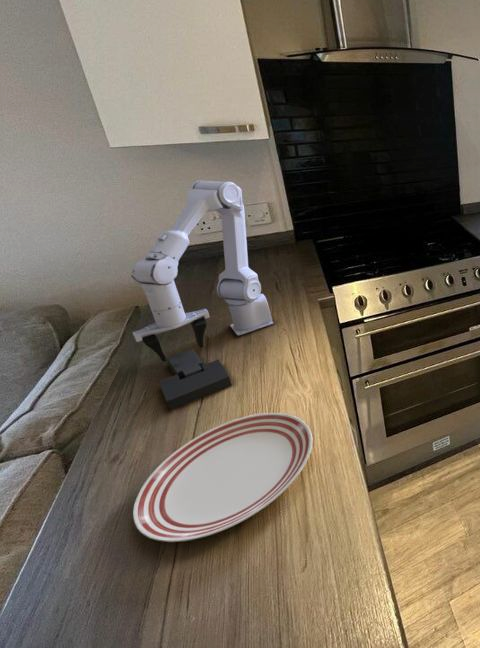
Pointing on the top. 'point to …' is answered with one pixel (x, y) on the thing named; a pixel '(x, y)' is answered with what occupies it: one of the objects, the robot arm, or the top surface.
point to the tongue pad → (185, 364)
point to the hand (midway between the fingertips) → (182, 352)
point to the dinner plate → (222, 477)
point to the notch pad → (195, 385)
